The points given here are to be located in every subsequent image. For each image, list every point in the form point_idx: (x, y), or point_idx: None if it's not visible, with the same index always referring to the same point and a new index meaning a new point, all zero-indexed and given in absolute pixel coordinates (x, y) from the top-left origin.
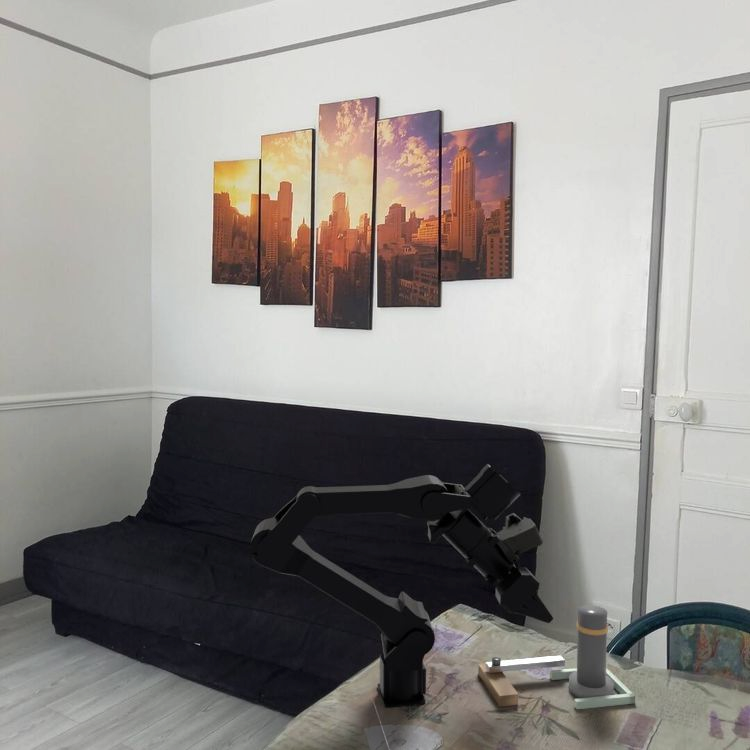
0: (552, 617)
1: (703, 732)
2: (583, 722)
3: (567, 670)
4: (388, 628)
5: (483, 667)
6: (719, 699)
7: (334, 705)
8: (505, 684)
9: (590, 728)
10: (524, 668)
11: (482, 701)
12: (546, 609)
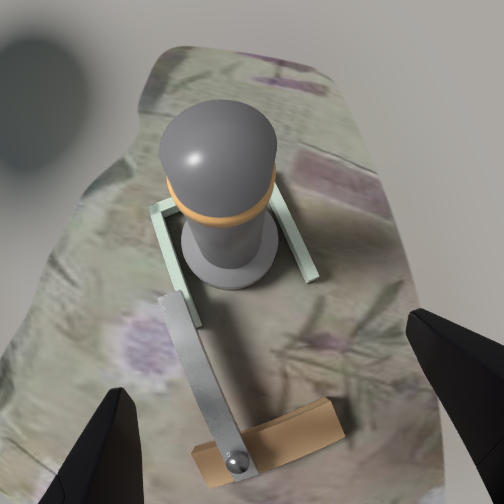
0: (425, 311)
1: (319, 100)
2: (351, 269)
3: (180, 287)
4: None
5: (223, 478)
6: (219, 67)
7: None
8: (293, 431)
9: (366, 258)
10: (222, 392)
11: (318, 462)
12: (474, 335)
